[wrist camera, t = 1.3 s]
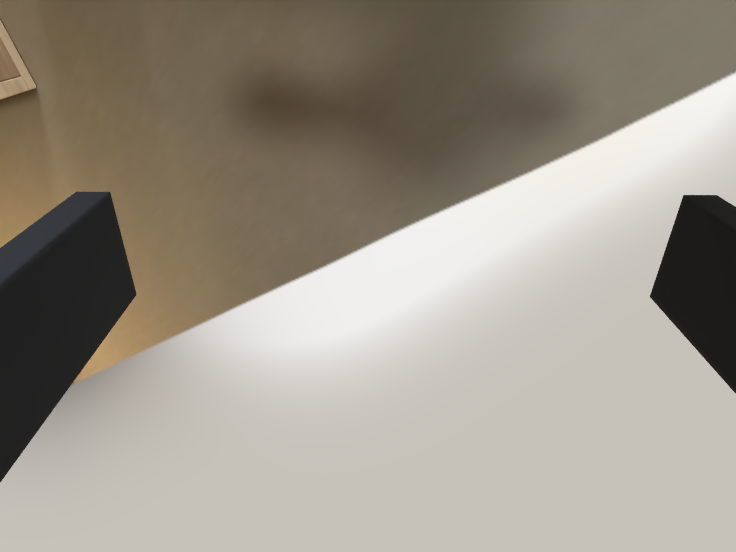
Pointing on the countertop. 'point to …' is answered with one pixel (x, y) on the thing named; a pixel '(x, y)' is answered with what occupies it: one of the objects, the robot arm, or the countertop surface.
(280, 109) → the countertop surface
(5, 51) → the cabinet
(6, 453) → the robot arm
